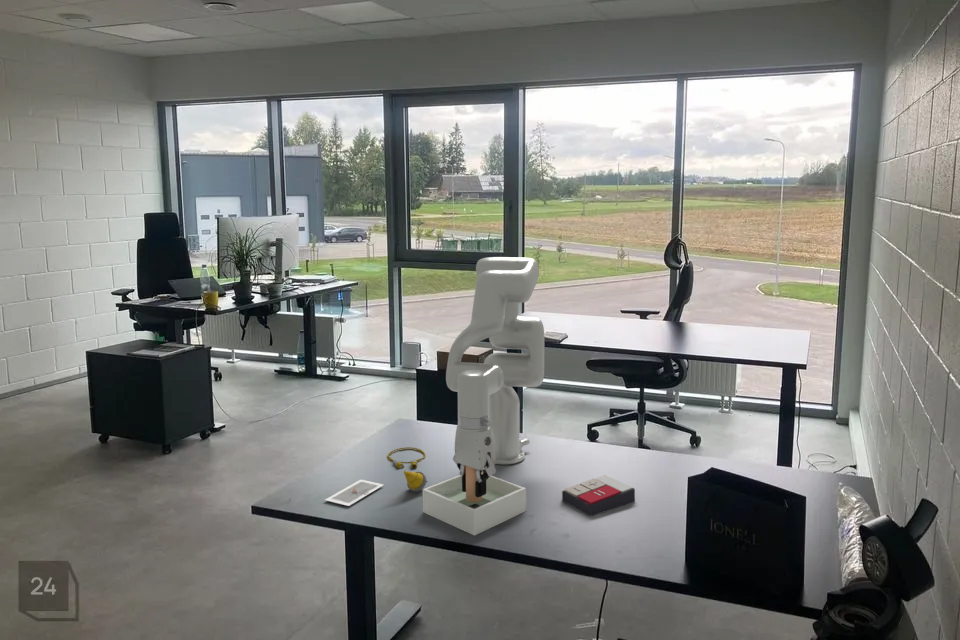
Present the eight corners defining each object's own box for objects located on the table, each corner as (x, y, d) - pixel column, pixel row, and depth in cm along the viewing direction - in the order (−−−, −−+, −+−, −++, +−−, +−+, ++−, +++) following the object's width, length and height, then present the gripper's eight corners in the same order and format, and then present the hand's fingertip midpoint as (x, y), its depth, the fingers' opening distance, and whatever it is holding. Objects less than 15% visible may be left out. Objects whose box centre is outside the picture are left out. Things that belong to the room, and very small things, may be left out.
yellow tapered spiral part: (432, 492, 195) (413, 476, 188) (415, 499, 196) (395, 483, 189) (430, 474, 198) (411, 458, 191) (413, 481, 200) (394, 465, 193)
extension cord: (375, 467, 212) (375, 461, 212) (397, 449, 227) (396, 443, 227) (414, 472, 209) (414, 465, 208) (434, 453, 224) (434, 446, 223)
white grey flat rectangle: (324, 503, 188) (324, 495, 188) (360, 483, 201) (360, 475, 201) (349, 510, 185) (348, 501, 184) (384, 488, 198) (383, 480, 197)
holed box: (474, 490, 194) (474, 469, 193) (526, 511, 182) (526, 488, 181) (423, 512, 182) (422, 489, 181) (474, 535, 169) (474, 511, 168)
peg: (474, 494, 184) (473, 460, 182) (485, 498, 181) (485, 464, 179) (462, 499, 181) (462, 464, 179) (474, 503, 178) (473, 468, 177)
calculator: (561, 488, 187) (605, 472, 195) (561, 503, 188) (605, 487, 196) (590, 503, 178) (635, 485, 186) (590, 519, 179) (635, 501, 187)
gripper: (509, 425, 174) (509, 498, 178) (460, 411, 186) (461, 479, 189) (487, 432, 169) (487, 507, 172) (438, 417, 181) (439, 488, 184)
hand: (474, 492), depth 181 cm, fingers closed on peg, 4 cm apart
